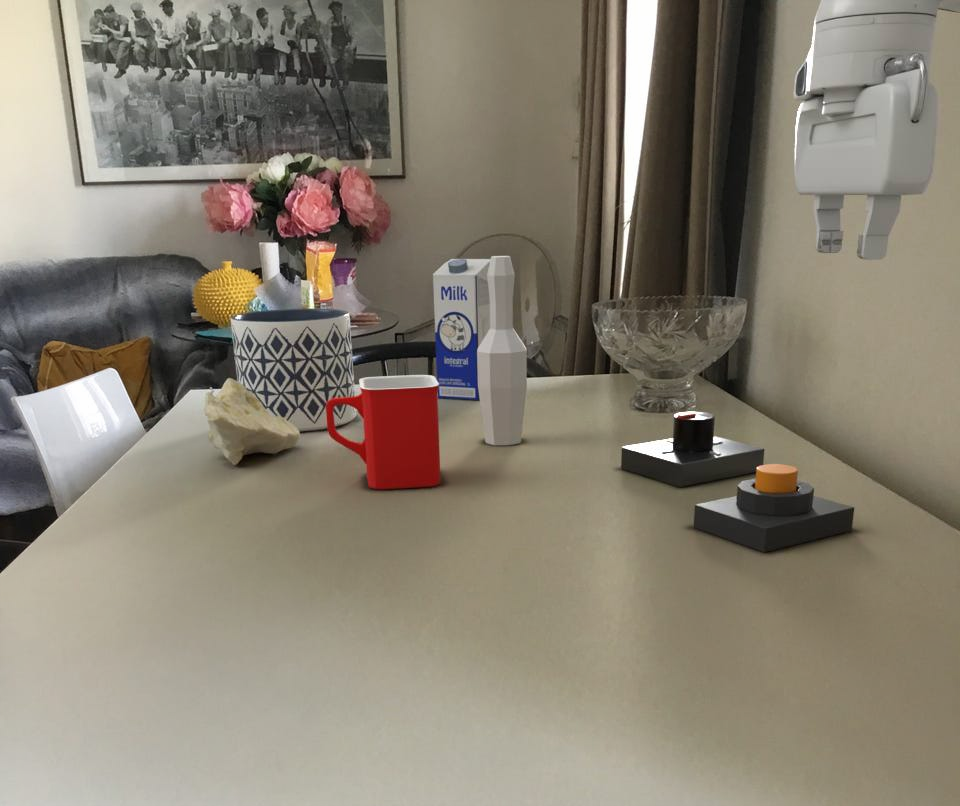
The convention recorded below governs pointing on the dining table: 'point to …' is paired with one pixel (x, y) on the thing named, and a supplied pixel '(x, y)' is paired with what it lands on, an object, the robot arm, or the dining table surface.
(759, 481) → the button
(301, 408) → the planter
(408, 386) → the mug
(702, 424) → the temp dial
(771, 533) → the button base
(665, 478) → the dial panel
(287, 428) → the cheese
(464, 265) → the milk carton
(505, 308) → the low poly bottle
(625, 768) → the dining table surface
